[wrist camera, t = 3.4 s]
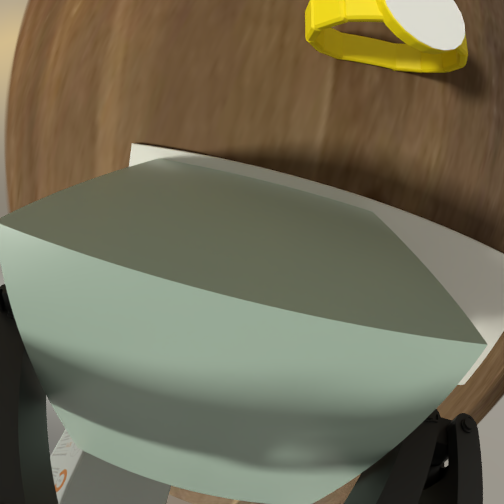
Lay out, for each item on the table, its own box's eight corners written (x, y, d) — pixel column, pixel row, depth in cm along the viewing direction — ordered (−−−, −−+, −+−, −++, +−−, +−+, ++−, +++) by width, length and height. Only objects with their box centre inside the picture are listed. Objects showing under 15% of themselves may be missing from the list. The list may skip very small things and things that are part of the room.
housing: (305, 366, 16) (308, 505, 8) (145, 327, 16) (77, 447, 8) (372, 211, 12) (488, 344, 4) (158, 158, 12) (-6, 221, 4)
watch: (417, 42, 9) (495, 14, 3) (419, 92, 10) (506, 84, 5) (297, 15, 9) (325, -56, 3) (297, 68, 10) (331, 19, 5)
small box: (143, 421, 22) (101, 532, 10) (91, 381, 20) (29, 492, 9) (197, 403, 19) (155, 553, 8) (133, 353, 18) (53, 510, 6)
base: (462, 382, 17) (465, 387, 16) (126, 322, 17) (122, 328, 16) (533, 269, 12) (537, 273, 12) (134, 143, 12) (129, 144, 11)
